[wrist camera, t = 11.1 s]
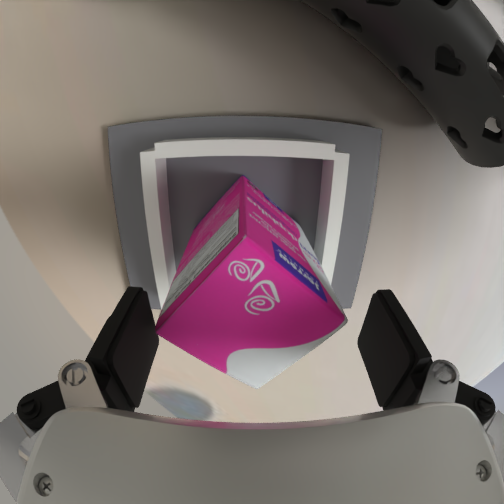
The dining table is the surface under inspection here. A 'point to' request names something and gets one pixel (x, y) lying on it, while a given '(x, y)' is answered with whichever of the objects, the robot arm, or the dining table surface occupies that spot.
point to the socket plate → (227, 173)
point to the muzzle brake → (437, 63)
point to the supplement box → (249, 290)
